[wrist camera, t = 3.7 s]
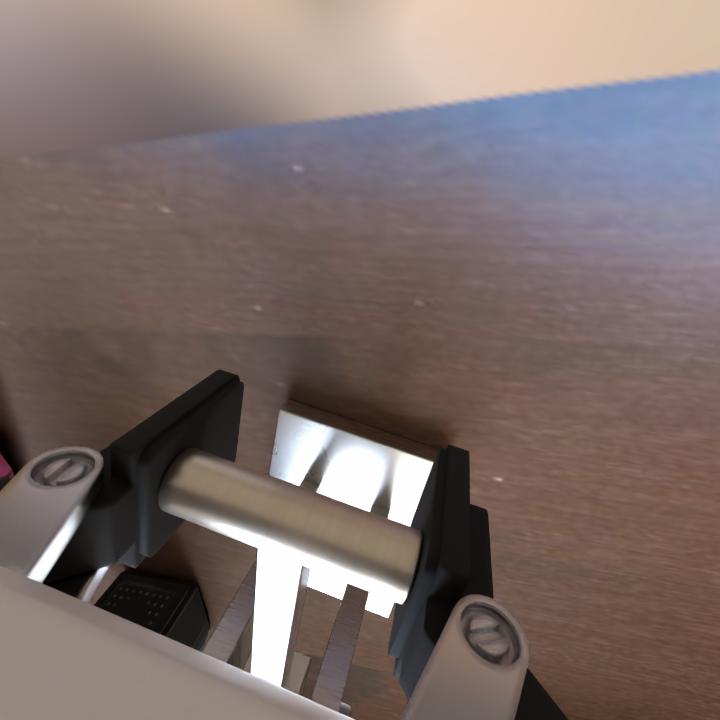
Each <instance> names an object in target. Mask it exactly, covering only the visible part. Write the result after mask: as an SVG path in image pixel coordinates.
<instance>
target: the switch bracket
mask: <svg viewBox="0 0 720 720" xmlns="http://www.w3.org/2000/svg"><path fill="white" fill-rule="evenodd" d="M437 452H438V449H435V448H432V447H429V446H427V445H424V444H421V443H418V442H415V441H412V440H409V439H406V438H403V437H400V436H397V435H394V434H391V433H388V432H385V431H382V430H379V429H376V428H373V427H370V426H367V425H364V424H361V423H358V422H355V421H352V420H349V419H346V418H343V417H340V416H337V415H334V414H331V413H328V412H325V411H322V410H319V409H316V408H313V407H310V406H307V405H304V404H301V403H298V402H295V401H292V400H287V401H286V403H285V404H284V405H283V406H282V407H281V408H280V409H279V415H278V421H277V427H276V434H275V440H274V446H273V452H272V459H271V465H270V471H269V475H270V476H273V477H276V478H279V479H281V480H284V481H287V482H290V483H292V484H295V485H298V486H300V487H303V488H306V489H309V490H311V491H314V492H317V493H320V494H322V495H325V496H328V497H331V498H333V499H336V500H339V501H342V502H344V503H347V504H350V505H352V506H355V507H358V508H361V509H363V510H366V511H369V512H372V513H374V514H377V515H380V516H383V517H385V518H388V519H391V520H394V521H396V522H399V523H402V524H404V525H407V526H410V525H411V522H412V519H413V516H414V514H415V511H416V508H417V505H418V503H419V500H420V497H421V495H422V492H423V489H424V487H425V484H426V481H427V479H428V476H429V473H430V470H431V468H432V465H433V462H434V460H435V457H436V454H437ZM256 556H257V553H256ZM255 575H256V559H255V562H254V563H253V565H252V567H251V568H250V570H249V572H248V574H247V575H246V577H245V579H244V580H243V582H242V584H241V585H240V587H239V589H238V591H237V592H236V594H235V596H234V597H233V599H232V601H231V602H230V604H229V606H228V608H227V609H226V611H225V613H224V614H223V616H222V618H221V619H220V621H219V623H218V625H217V626H216V628H215V630H214V631H213V633H212V635H211V636H210V638H209V640H208V641H207V643H205V644H204V645H203V646H202V647H201V648H200V649H199V651H200V652H202V653H204V654H207V655H209V656H211V657H214V658H216V659H218V660H221V661H223V662H225V663H227V664H230V665H232V666H234V667H237V668H239V669H241V670H242V668H243V666H244V664H245V662H246V660H247V657H248V655H249V653H250V651H251V649H252V632H253V613H254V594H255ZM308 586H309V587H311V588H314V589H316V590H319V591H321V592H324V593H326V594H329V595H331V596H334V597H336V598H339V599H341V600H342V601H341V604H340V607H339V610H338V613H337V617H336V620H335V623H334V626H333V629H332V632H331V635H330V639H329V642H328V645H327V648H326V651H325V654H324V658H323V661H322V664H321V667H320V670H319V673H318V676H317V680H316V683H315V686H314V689H313V692H312V695H311V699H310V700H311V701H314V702H316V703H318V704H321V705H323V706H325V707H327V708H330V709H332V710H334V711H336V712H339V713H341V714H343V715H345V716H348V717H350V713H351V707H350V706H349V705H347V704H345V703H342V698H343V694H344V690H345V686H346V682H347V678H348V674H349V670H350V666H351V662H352V658H353V654H354V650H355V646H356V643H357V639H358V635H359V631H360V627H361V623H362V619H363V615H364V611H365V609H366V610H369V611H371V612H374V613H376V614H379V615H381V616H384V617H386V618H389V616H390V613H391V611H392V608H393V606H394V603H395V602H393V601H391V600H388V599H386V598H383V597H380V596H378V595H375V594H373V593H370V592H368V591H365V590H363V589H360V588H358V587H355V586H353V585H350V584H347V583H345V582H342V581H340V580H337V579H335V578H332V577H330V576H327V575H325V574H322V573H320V572H317V571H314V570H312V569H311V571H310V576H309V581H308Z"/></svg>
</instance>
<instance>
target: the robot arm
mask: <svg viewBox="0 0 720 720" xmlns="http://www.w3.org/2000/svg"><path fill="white" fill-rule="evenodd" d="M243 390H244V384H243V382H240V379H239V376H238V375H235V374H232V373H229V372H226V371H223V370H217V371H215V372H214V373H213V374H211V375H210V376H208V377H207V378H205V379H204V380H202V381H201V382H200V383H198V384H197V385H195V386H194V387H192V388H191V389H189V390H188V391H187V392H185V393H184V394H182V395H181V396H179V397H178V398H176V399H175V400H174V401H172V402H171V403H169V404H168V405H166V406H165V407H163V408H162V409H161V410H159V411H158V412H156V413H155V414H153V415H152V416H150V417H149V418H148V419H146V420H145V421H143V422H142V423H140V424H139V425H137V426H136V427H135V428H133V429H132V430H130V431H129V432H127V433H126V434H124V435H123V436H122V437H120V438H119V439H117V440H116V441H114V442H113V443H111V444H110V446H108V447H107V448H105V449H104V450H103V451H101V452H100V453H99V452H98V451H96V450H94V449H92V448H88V447H83V446H66V447H60V448H56V449H52V450H49V451H46V452H44V453H42V454H40V455H38V456H36V457H34V458H33V459H32V460H31V461H29V462H28V463H27V464H26V465H25V466H24V467H23V468H22V469H21V470H20V471H19V472H18V473H17V474H16V475H15V476H14V477H13V478H7V479H1V480H0V720H355V719H352V718H350V717H348V716H345V715H343V714H341V713H339V712H336V711H334V710H332V709H330V708H327V707H325V706H323V705H321V704H318V703H316V702H314V701H311V700H309V699H307V698H305V697H302V696H300V695H298V694H296V693H293V692H291V691H289V690H287V689H284V688H282V687H280V686H277V685H275V684H273V683H271V682H268V681H266V680H264V679H262V678H259V677H257V676H255V675H253V674H250V673H248V672H246V671H243V670H241V669H239V668H237V667H234V666H232V665H230V664H227V663H225V662H223V661H221V660H218V659H216V658H214V657H211V656H209V655H207V654H204V653H202V652H200V651H198V650H195V649H193V648H191V647H188V646H186V645H184V644H181V643H179V642H177V641H175V640H172V639H170V638H168V637H165V636H163V635H161V634H158V633H156V632H154V631H151V630H149V629H147V628H145V627H142V626H140V625H138V624H135V623H133V622H131V621H128V620H126V619H124V618H121V617H119V616H117V615H115V614H112V613H110V612H108V611H105V610H103V609H101V608H98V607H96V606H94V605H91V604H90V603H91V601H92V599H93V597H94V595H95V593H96V591H97V589H98V587H99V585H100V583H101V581H102V579H103V577H104V575H105V573H106V572H107V569H108V566H110V565H114V564H115V563H116V562H117V561H118V562H120V563H123V564H125V565H128V566H130V567H133V568H136V567H137V566H138V565H139V564H140V563H141V562H142V561H143V559H144V558H145V557H146V556H147V557H152V556H154V555H155V554H156V553H157V552H158V551H159V549H160V548H161V547H162V546H163V545H164V544H165V543H166V541H167V540H168V539H169V538H170V537H171V536H172V535H173V533H174V532H175V531H176V530H177V529H178V528H179V527H180V525H181V524H182V523H183V522H184V521H185V519H183V518H180V517H177V516H175V515H172V514H170V513H167V512H165V511H162V510H161V509H160V507H159V506H158V501H157V497H158V491H159V487H160V484H161V481H162V479H163V477H164V475H165V473H166V471H167V469H168V468H169V466H170V465H171V463H172V462H173V461H174V459H175V458H176V457H177V456H178V455H179V454H180V453H181V452H183V451H184V450H186V449H188V448H196V449H199V450H202V451H205V452H207V453H210V454H213V455H216V456H218V457H221V458H224V459H227V460H229V461H232V462H234V461H235V458H236V452H237V443H238V434H239V425H240V416H241V408H242V399H243ZM410 527H413V528H415V529H418V530H421V531H422V532H423V537H424V539H423V548H422V554H421V559H420V564H419V568H418V572H417V575H416V579H415V582H414V586H413V589H412V591H411V594H410V596H409V599H408V600H407V602H406V603H405V604H404V605H401V604H398V603H396V608H395V614H394V620H393V625H392V631H391V637H390V643H389V649H388V655H390V656H393V657H395V658H396V660H395V667H394V673H393V675H394V676H396V677H399V678H400V680H399V683H400V685H401V687H402V689H403V690H404V692H405V694H406V696H407V698H408V702H407V704H406V706H405V708H404V710H403V712H402V714H401V717H400V719H399V720H568V719H567V717H566V716H565V715H564V714H563V712H562V711H561V710H560V708H559V707H558V706H557V705H556V703H555V702H554V701H553V700H552V698H551V697H550V696H549V695H548V693H547V692H546V691H545V689H544V688H543V687H542V686H541V684H540V683H539V682H538V681H537V679H536V678H535V677H534V675H533V674H532V673H531V672H530V670H529V669H528V668H527V667H528V663H529V655H530V646H529V643H528V639H527V635H526V633H525V631H524V629H523V627H522V626H521V624H520V622H519V621H518V620H517V618H516V617H515V616H514V615H513V614H512V612H511V611H509V610H508V609H507V608H506V607H505V606H503V605H502V604H501V603H499V602H498V601H496V600H494V599H493V583H492V568H491V552H490V537H489V521H488V512H487V510H486V509H484V508H481V507H478V506H475V505H472V504H470V469H469V451H467V450H464V449H461V448H458V447H455V446H452V445H448V447H447V449H444V448H441V447H440V448H439V449H438V452H437V454H436V457H435V460H434V462H433V465H432V468H431V470H430V473H429V476H428V479H427V481H426V484H425V487H424V489H423V492H422V495H421V497H420V500H419V503H418V505H417V508H416V511H415V514H414V516H413V519H412V522H411V525H410Z"/></svg>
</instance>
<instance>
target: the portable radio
mask: <svg viewBox="0 0 720 720" xmlns="http://www.w3.org/2000/svg"><path fill="white" fill-rule="evenodd" d="M94 606H96V607H98V608H101V609H103V610H105V611H108V612H110V613H112V614H115V615H117V616H119V617H121V618H124V619H126V620H128V621H131V622H133V623H135V624H138V625H140V626H142V627H145V628H147V629H149V630H151V631H154V632H156V633H158V634H161V635H163V636H165V637H168V638H170V639H172V640H175V641H177V642H179V643H181V644H184V645H186V646H188V647H191V648H193V649H195V650H198V651H199V649H200V648H201V647H202V646H203V644H204V642H205V640H206V638H207V636H208V631H209V625H208V619H207V616H206V612H205V609H204V606H203V602H202V599H201V596H200V592H199V589H198V587H197V586H196V585H195V584H194V583H191V582H186V581H180V580H175V579H170V578H164V577H159V576H154V575H149V574H143V573H138V572H133V571H123V572H121V573H120V575H119V576H118V577H117V578H116V579H115V581H114V582H113V583H112V584H111V585H110V587H109V588H108V589H107V590H106V591H105V593H104V594H103V595H102V596H101V597H100V599H99V600H98V601H97V602H96V603H95V605H94Z"/></svg>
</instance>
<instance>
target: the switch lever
mask: <svg viewBox="0 0 720 720" xmlns="http://www.w3.org/2000/svg"><path fill="white" fill-rule="evenodd" d="M157 501H158V506H159V507H160V509H161V510H162V511H165V512H167V513H170V514H172V515H175V516H177V517H180V518H183V519H185V520H188V521H190V522H193V523H195V524H198V525H200V526H203V527H205V528H208V529H210V530H213V531H216V532H218V533H221V534H223V535H226V536H228V537H231V538H233V539H236V540H238V541H241V542H243V543H246V544H248V545H251V546H254V547H256V548H257V556H256V575H255V594H254V613H253V632H252V649H251V651H250V653H249V655H248V657H247V660H246V662H245V664H244V666H243V668H242V670H243V671H246V672H248V673H250V674H253V675H255V676H257V677H259V678H262V679H264V680H266V681H268V682H271V683H273V684H275V685H277V686H280V687H282V688H284V689H287V690H289V691H291V692H293V693H296V694H298V695H300V696H301V695H302V692H303V689H304V686H305V682H306V678H307V674H308V671H309V667H310V663H311V657H309V656H307V655H304V654H302V653H300V652H297V651H295V646H296V641H297V636H298V631H299V626H300V621H301V616H302V611H303V606H304V601H305V596H306V591H307V586H308V581H309V576H310V571H311V569H312V570H314V571H317V572H320V573H322V574H325V575H327V576H330V577H332V578H335V579H337V580H340V581H342V582H345V583H347V584H350V585H353V586H355V587H358V588H360V589H363V590H365V591H368V592H370V593H373V594H375V595H378V596H380V597H383V598H386V599H388V600H391V601H393V602H396V603H398V604H401V605H404V604H405V603H406V602H407V600H408V599H409V596H410V594H411V591H412V589H413V586H414V582H415V579H416V575H417V572H418V568H419V564H420V559H421V554H422V548H423V539H424V537H423V532H422V531H421V530H418V529H415V528H413V527H410V526H407V525H404V524H402V523H399V522H396V521H394V520H391V519H388V518H385V517H383V516H380V515H377V514H374V513H372V512H369V511H366V510H363V509H361V508H358V507H355V506H352V505H350V504H347V503H344V502H342V501H339V500H336V499H333V498H331V497H328V496H325V495H322V494H320V493H317V492H314V491H311V490H309V489H306V488H303V487H300V486H298V485H295V484H292V483H290V482H287V481H284V480H281V479H279V478H276V477H273V476H270V475H268V474H265V473H262V472H259V471H257V470H254V469H251V468H248V467H246V466H243V465H240V464H237V463H235V462H232V461H229V460H227V459H224V458H221V457H218V456H216V455H213V454H210V453H207V452H205V451H202V450H199V449H196V448H188V449H186V450H184V451H183V452H181V453H180V454H179V455H178V456H177V457H176V458H175V459H174V461H173V462H172V463H171V465H170V466H169V468H168V469H167V471H166V473H165V475H164V477H163V479H162V481H161V484H160V487H159V491H158V497H157Z"/></svg>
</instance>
